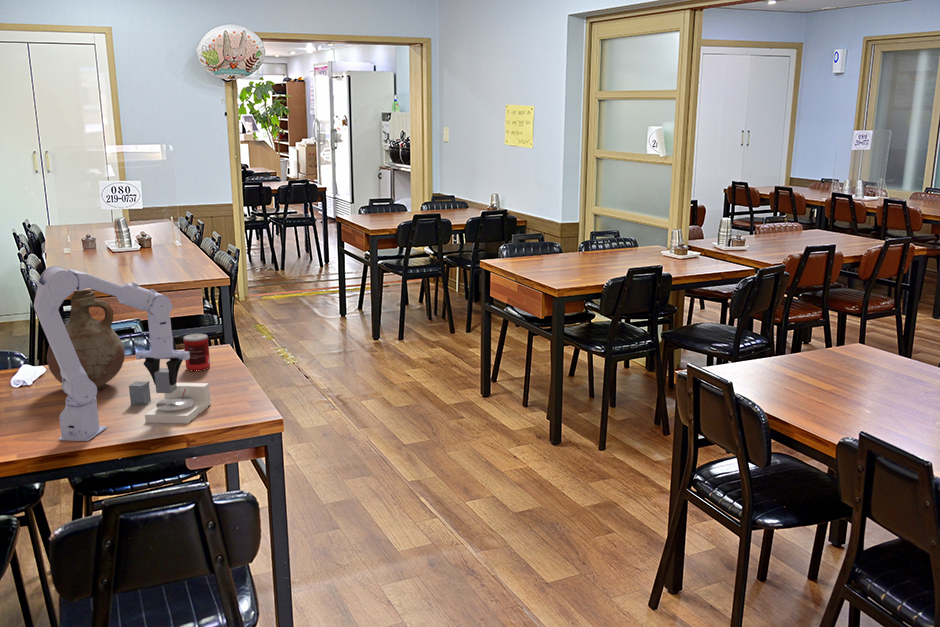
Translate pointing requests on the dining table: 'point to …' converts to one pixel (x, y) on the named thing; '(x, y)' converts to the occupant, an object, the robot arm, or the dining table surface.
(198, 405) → the scale
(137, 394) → the block
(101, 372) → the jug
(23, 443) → the dining table surface
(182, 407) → the pan
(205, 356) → the canned food
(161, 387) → the block
